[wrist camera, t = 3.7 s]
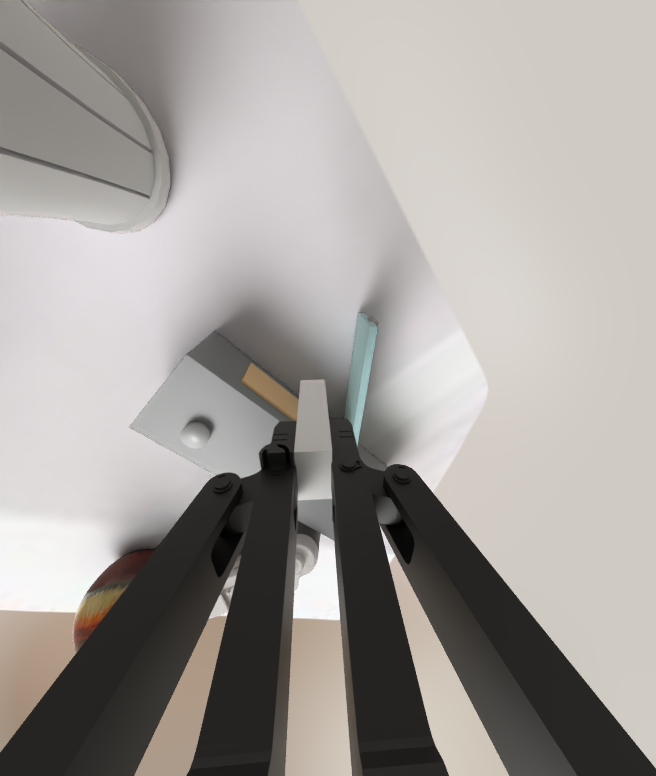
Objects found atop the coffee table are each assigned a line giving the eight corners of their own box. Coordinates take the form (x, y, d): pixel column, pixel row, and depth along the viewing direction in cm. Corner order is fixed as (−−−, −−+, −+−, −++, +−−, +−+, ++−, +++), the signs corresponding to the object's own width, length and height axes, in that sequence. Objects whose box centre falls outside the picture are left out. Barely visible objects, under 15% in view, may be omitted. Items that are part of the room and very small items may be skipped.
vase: (145, 530, 34) (36, 717, 20) (209, 566, 39) (155, 738, 25) (93, 563, 36) (-37, 750, 23) (159, 593, 41) (84, 764, 27)
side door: (355, 312, 22) (366, 326, 18) (369, 313, 23) (383, 327, 18) (340, 431, 28) (345, 463, 24) (351, 432, 28) (358, 463, 24)
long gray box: (166, 390, 25) (121, 433, 19) (216, 329, 23) (182, 356, 17) (347, 505, 34) (356, 559, 28) (395, 471, 32) (416, 521, 26)
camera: (330, 526, 34) (323, 594, 24) (224, 567, 36) (175, 648, 25) (301, 463, 34) (282, 504, 24) (195, 507, 35) (133, 565, 25)
